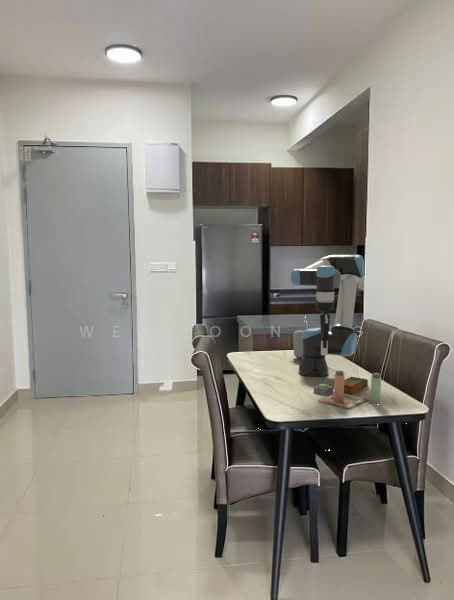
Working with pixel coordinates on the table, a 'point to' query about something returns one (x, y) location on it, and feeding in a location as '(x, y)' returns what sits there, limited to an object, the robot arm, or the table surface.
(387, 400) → the table surface
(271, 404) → the table surface
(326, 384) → the button
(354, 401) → the colouring board
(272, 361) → the table surface
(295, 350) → the jar
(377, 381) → the sage marker
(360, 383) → the carton
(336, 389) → the terracotta marker
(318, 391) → the button housing
